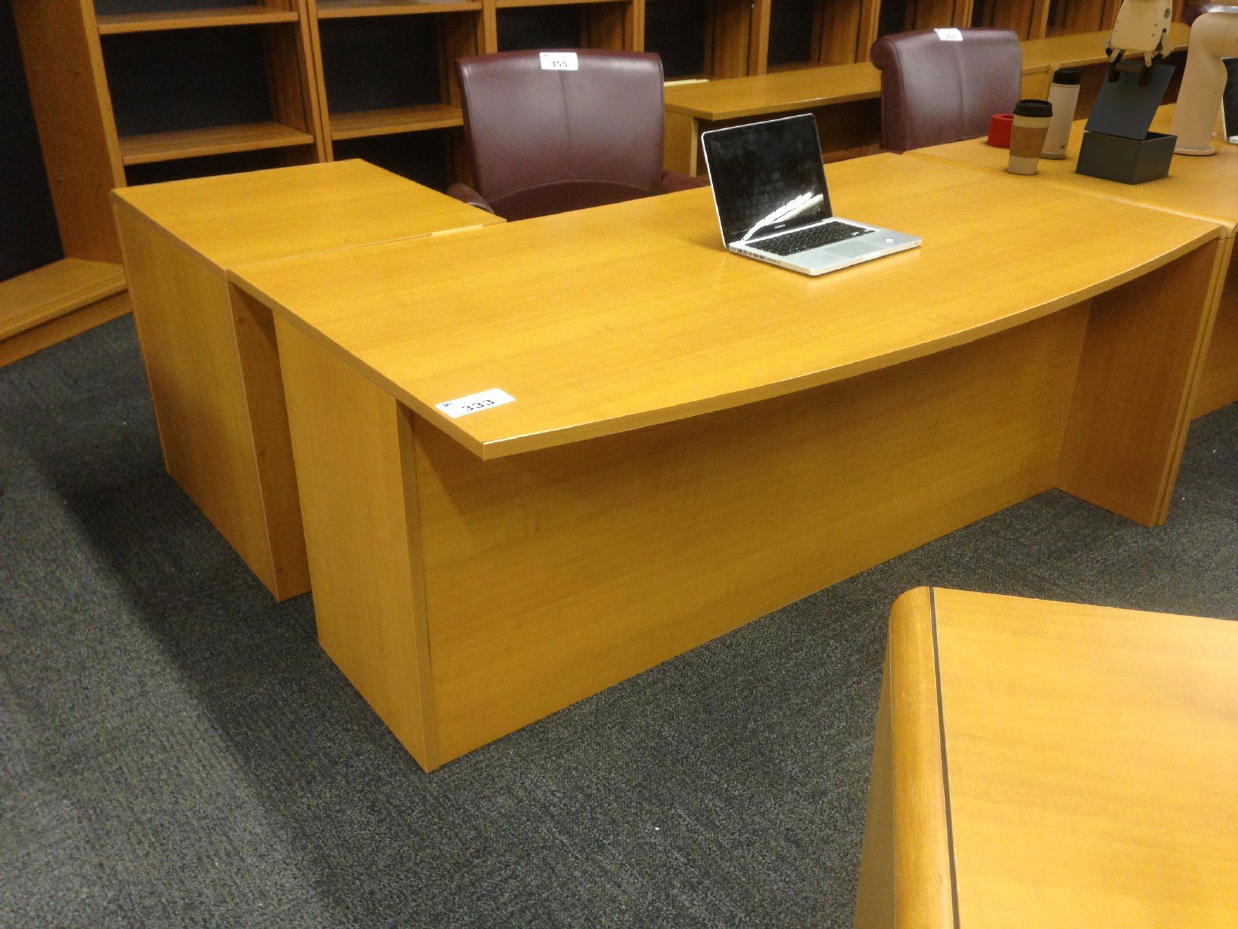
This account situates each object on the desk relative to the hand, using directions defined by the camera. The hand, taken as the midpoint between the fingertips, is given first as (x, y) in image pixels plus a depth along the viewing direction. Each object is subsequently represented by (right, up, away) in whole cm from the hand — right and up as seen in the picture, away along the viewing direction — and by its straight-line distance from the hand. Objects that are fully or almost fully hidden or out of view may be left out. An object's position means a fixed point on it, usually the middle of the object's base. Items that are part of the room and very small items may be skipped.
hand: (1127, 83), depth 222 cm
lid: (+2, -3, +3) cm, 4 cm away
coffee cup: (-17, -15, +13) cm, 27 cm away
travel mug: (-4, -7, +29) cm, 30 cm away
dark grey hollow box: (+5, -16, +12) cm, 21 cm away
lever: (-7, -2, +39) cm, 40 cm away
